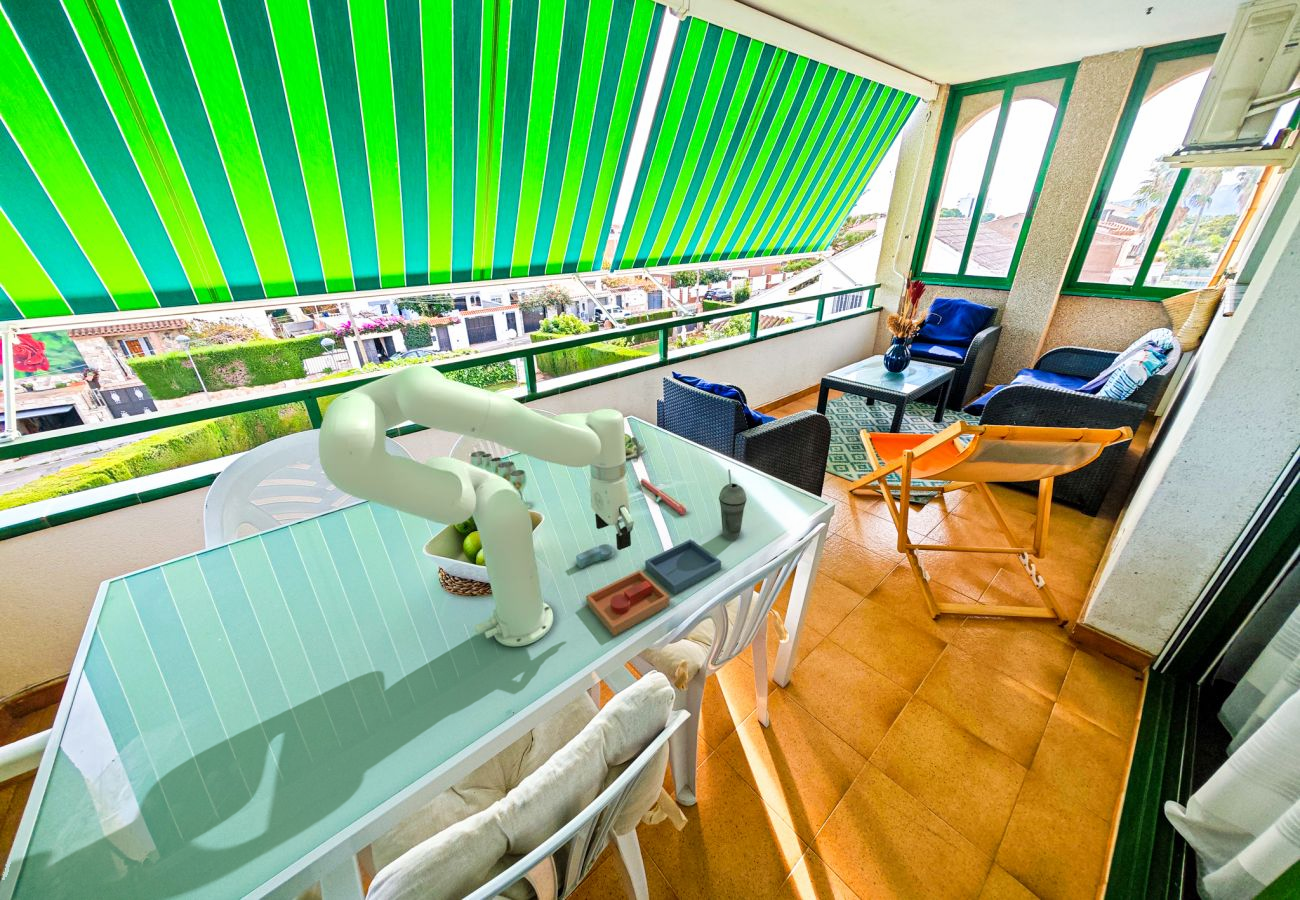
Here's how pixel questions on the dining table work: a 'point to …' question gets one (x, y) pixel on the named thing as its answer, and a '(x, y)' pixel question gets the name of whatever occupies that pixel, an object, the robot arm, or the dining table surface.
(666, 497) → the red bar
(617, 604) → the red spoon
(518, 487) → the goblet set
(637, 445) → the salad plate
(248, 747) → the dining table surface
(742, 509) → the beverage cup
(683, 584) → the slate tray
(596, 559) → the blue-grey rounded block
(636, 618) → the terracotta tray
